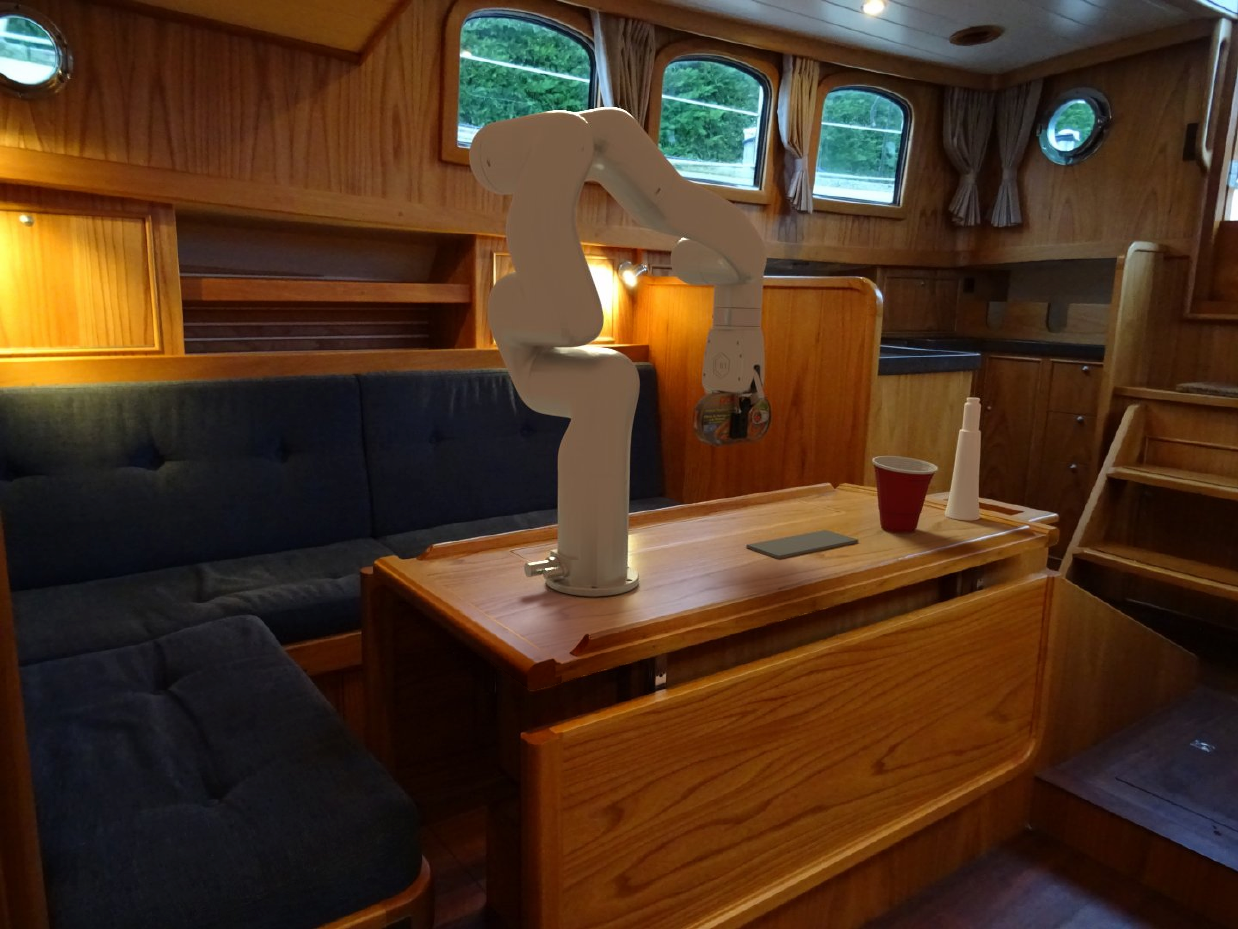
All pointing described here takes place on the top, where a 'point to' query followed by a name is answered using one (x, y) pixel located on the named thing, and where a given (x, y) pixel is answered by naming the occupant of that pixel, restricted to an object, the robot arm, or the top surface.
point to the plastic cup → (901, 491)
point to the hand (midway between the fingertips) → (731, 435)
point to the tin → (728, 420)
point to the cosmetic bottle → (966, 467)
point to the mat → (801, 544)
